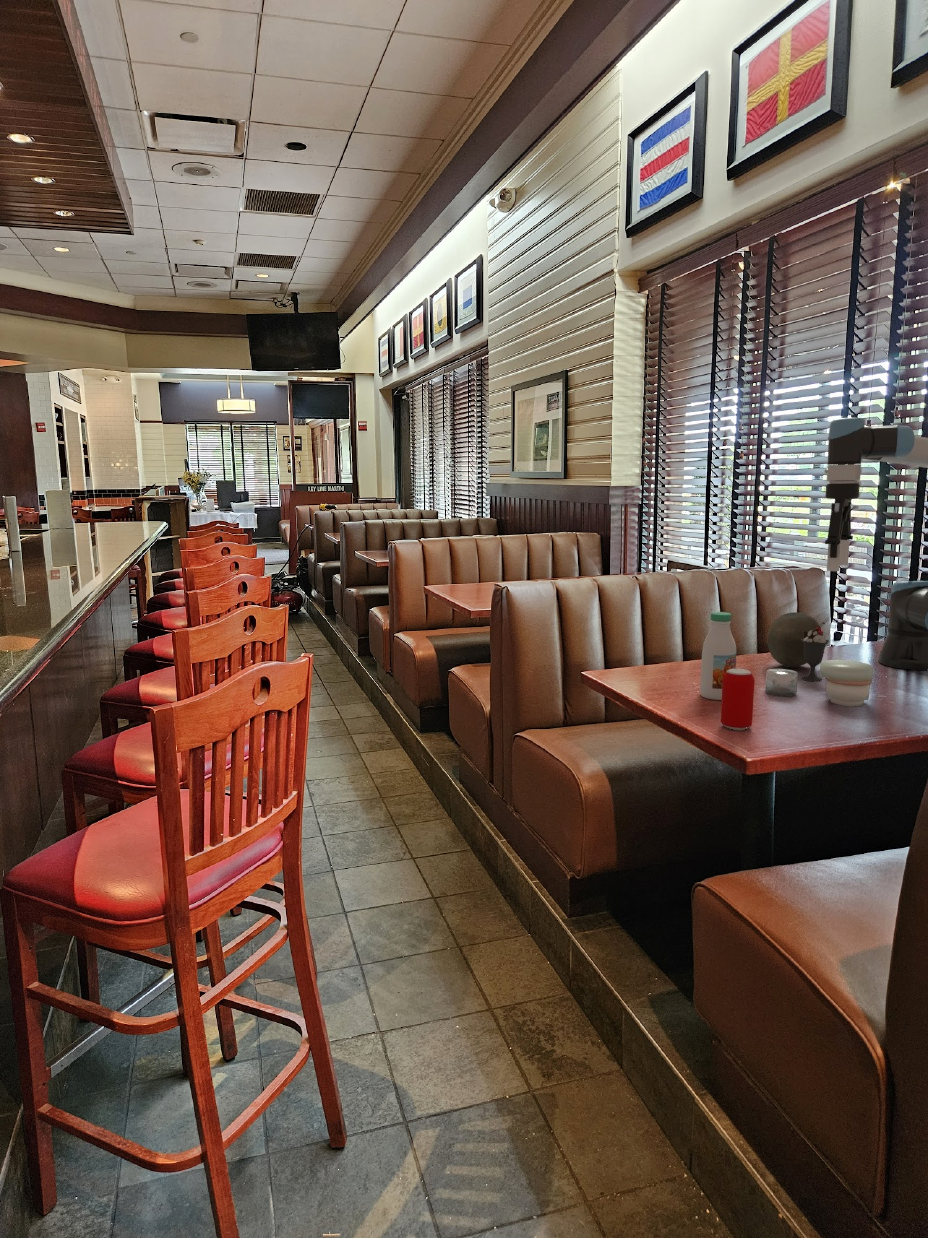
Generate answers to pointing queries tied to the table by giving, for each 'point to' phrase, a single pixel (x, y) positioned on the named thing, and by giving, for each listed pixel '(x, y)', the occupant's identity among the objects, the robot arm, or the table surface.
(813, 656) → the sundae
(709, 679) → the milk bottle
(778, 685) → the lid stand
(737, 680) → the beverage can
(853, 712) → the table surface
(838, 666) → the lid
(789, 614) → the cantaloupe
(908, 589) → the robot arm
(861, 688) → the bowl
